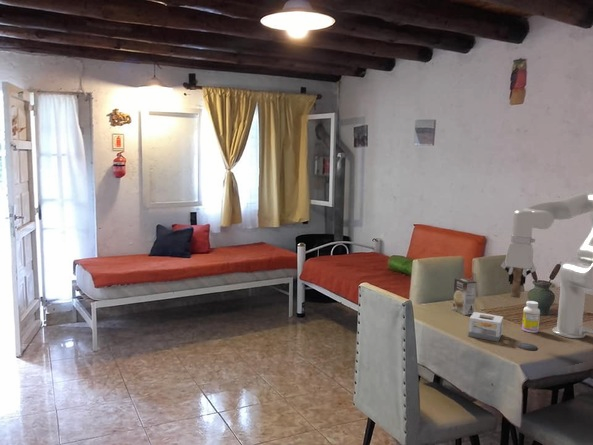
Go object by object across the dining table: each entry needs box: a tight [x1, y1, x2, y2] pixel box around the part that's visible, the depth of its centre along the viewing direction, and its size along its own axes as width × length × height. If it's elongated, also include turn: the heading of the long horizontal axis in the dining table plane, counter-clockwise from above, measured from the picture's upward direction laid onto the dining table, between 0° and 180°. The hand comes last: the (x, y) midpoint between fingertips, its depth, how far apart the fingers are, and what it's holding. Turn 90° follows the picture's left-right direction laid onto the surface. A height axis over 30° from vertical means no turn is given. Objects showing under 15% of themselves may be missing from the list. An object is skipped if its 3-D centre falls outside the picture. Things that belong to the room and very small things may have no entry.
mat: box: [517, 342, 538, 351], centre depth 208 cm, size 7×7×1 cm
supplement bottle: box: [521, 300, 541, 334], centre depth 228 cm, size 7×7×13 cm
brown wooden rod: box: [510, 268, 523, 299], centre depth 214 cm, size 4×4×14 cm
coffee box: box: [452, 277, 477, 316], centre depth 253 cm, size 9×6×16 cm
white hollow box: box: [467, 311, 504, 342], centre depth 220 cm, size 12×10×8 cm
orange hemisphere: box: [480, 322, 492, 328], centre depth 220 cm, size 4×4×2 cm
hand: (516, 284), depth 214 cm, fingers closed on brown wooden rod, 3 cm apart
